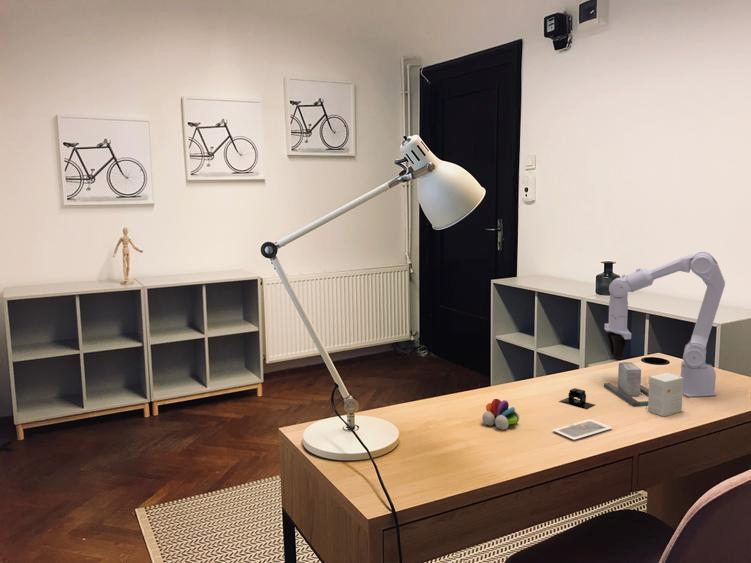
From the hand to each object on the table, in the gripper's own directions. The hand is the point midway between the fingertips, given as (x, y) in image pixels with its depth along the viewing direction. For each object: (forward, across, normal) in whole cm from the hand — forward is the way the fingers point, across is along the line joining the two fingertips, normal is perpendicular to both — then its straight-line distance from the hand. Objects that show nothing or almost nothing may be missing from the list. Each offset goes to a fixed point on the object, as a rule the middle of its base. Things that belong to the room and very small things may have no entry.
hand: (616, 355), depth 212 cm
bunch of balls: (+10, +29, -48) cm, 57 cm away
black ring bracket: (+10, +16, -20) cm, 28 cm away
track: (+9, +13, 0) cm, 16 cm away
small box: (+10, +27, +2) cm, 29 cm away
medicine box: (+10, +9, 0) cm, 13 cm away
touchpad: (+10, +37, -28) cm, 48 cm away
